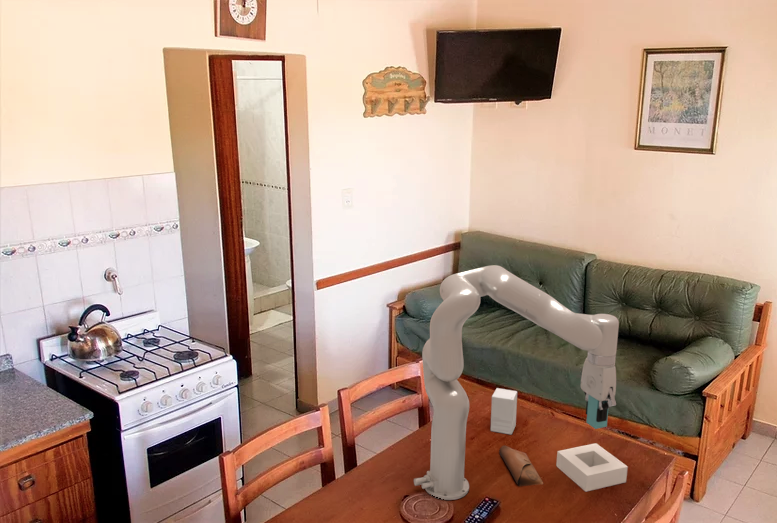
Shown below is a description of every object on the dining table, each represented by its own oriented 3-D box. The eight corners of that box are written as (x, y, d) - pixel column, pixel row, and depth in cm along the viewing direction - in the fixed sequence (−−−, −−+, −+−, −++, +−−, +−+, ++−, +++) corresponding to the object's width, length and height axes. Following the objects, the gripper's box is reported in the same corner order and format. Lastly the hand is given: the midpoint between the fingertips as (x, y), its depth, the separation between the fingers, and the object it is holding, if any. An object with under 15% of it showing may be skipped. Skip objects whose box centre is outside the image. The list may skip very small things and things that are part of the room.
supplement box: (516, 425, 217) (518, 390, 214) (511, 435, 210) (513, 399, 207) (494, 421, 219) (496, 387, 216) (489, 431, 213) (491, 395, 210)
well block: (585, 491, 179) (587, 475, 178) (556, 466, 192) (557, 451, 191) (625, 482, 184) (627, 466, 183) (594, 457, 197) (596, 443, 196)
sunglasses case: (546, 484, 182) (535, 467, 181) (525, 497, 182) (514, 480, 181) (524, 451, 200) (514, 435, 198) (505, 463, 200) (495, 447, 198)
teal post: (595, 429, 182) (597, 400, 180) (586, 422, 186) (588, 394, 184) (606, 426, 183) (609, 397, 181) (597, 420, 187) (600, 392, 185)
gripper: (571, 349, 186) (567, 407, 190) (610, 370, 171) (604, 433, 175) (593, 346, 189) (588, 403, 193) (632, 367, 173) (626, 428, 178)
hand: (596, 416), depth 184 cm, fingers closed on teal post, 4 cm apart
